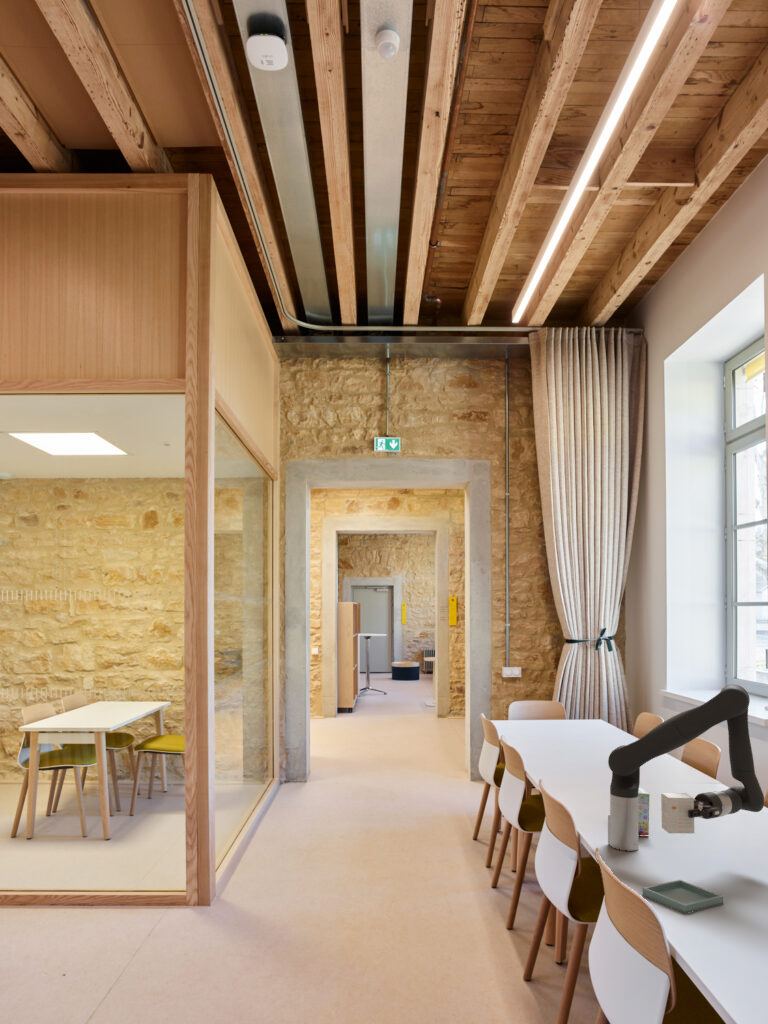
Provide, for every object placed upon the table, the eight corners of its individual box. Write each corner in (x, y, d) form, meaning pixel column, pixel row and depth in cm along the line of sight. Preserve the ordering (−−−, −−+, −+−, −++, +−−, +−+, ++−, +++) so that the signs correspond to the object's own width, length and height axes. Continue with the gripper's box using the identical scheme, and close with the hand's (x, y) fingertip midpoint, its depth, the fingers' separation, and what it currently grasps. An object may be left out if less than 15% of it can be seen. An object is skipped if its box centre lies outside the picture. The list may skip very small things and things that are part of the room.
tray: (642, 895, 227) (642, 887, 227) (680, 887, 235) (679, 879, 235) (685, 913, 214) (685, 905, 214) (723, 904, 222) (723, 896, 222)
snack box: (650, 837, 284) (650, 793, 286) (634, 836, 284) (634, 793, 286) (632, 820, 305) (632, 780, 307) (618, 820, 305) (618, 779, 307)
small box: (686, 828, 244) (686, 792, 245) (694, 833, 238) (694, 797, 239) (661, 828, 243) (660, 792, 244) (668, 833, 238) (668, 797, 239)
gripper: (693, 787, 255) (658, 792, 247) (733, 797, 243) (697, 803, 235) (693, 811, 255) (658, 817, 246) (733, 823, 243) (697, 830, 234)
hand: (677, 810), depth 241 cm, fingers closed on small box, 7 cm apart
